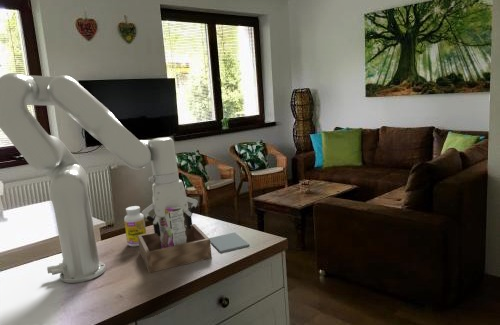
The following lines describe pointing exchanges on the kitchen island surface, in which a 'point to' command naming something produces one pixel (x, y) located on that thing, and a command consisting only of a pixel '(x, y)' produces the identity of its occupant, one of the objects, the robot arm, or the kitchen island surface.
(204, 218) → the kitchen island surface
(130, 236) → the supplement bottle
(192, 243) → the open wooden crate
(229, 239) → the grey mat
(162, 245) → the candy bar box
